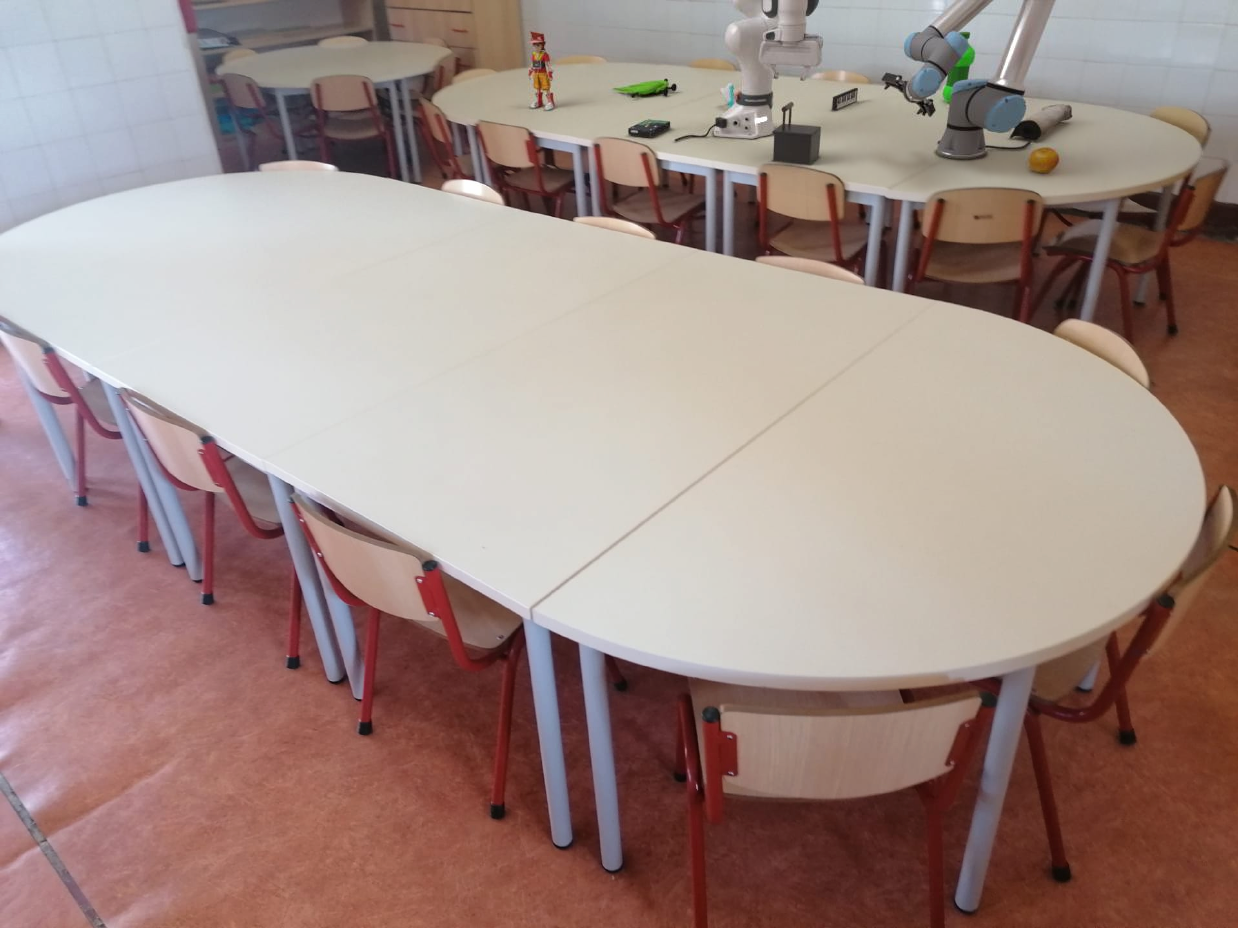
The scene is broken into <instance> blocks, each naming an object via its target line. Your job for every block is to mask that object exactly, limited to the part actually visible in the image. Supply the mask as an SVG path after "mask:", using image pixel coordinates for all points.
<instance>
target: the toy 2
mask: <svg viewBox="0 0 1238 928" xmlns="http://www.w3.org/2000/svg"><path fill="white" fill-rule="evenodd" d="M669 85H670V83H669V79H668V78H664V79H663V80H649V81H644V82H640V83H634V84H629V85H627V86H621V87H613V88H612V89H613V90H616V91H619V92H623V93H627V94H628V93H629V94H631V95H630V96H631V98H632V99H634V98H636V96H637V95H650V94H652V93H654V94H658V93H662V95H663V96H665V97H667V96H668V95H669V90H671V91H672V92H676V91H677V84H676V83H672V84H671V86H669Z"/></svg>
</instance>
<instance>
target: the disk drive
mask: <svg viewBox="0 0 1238 928" xmlns="http://www.w3.org/2000/svg"><path fill="white" fill-rule="evenodd" d="M670 128H671V121H669V120H661V119H650V118H649V119H645V120H642V121H641V122H638V123H637V124H635V125H632V126H630V127H628V128H627V135H628V136H633V137H641V138H653V137H655V136H658V135H660V134H661V133H663V132H665V131H667V130H669V129H670Z"/></svg>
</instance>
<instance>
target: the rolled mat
mask: <svg viewBox="0 0 1238 928" xmlns="http://www.w3.org/2000/svg"><path fill="white" fill-rule="evenodd" d="M1072 118H1073V109H1072V106H1071V105H1070V104H1064V103H1062V104H1061V103H1060V104H1059V103H1057V104H1053V105H1047V106H1044V107H1043V108H1042V109H1041V110H1040V111H1038V112H1036V113H1034V114H1032V115H1030V116H1028V117H1026V118H1023V119H1022V120H1021V122H1020V123H1019V124H1018V125H1017V126H1016V127H1015V128H1013V130H1012V132H1011V134H1010V136H1009V139H1013V138H1015V137H1020V138H1022V139H1023V140H1025V141H1029V142H1036V141H1038V140H1040V138H1042V137H1043V136H1044V135H1045V134H1046V133H1047V131H1049V130H1050V129H1051V128H1053V127H1054V126H1055V125H1056V124H1057V123H1059V122H1064V121H1065V122H1067V121H1069V120H1071V119H1072Z"/></svg>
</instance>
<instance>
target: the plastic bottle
mask: <svg viewBox="0 0 1238 928" xmlns="http://www.w3.org/2000/svg"><path fill="white" fill-rule="evenodd" d="M958 33H959V34H961V35H962V36H963V37H965V38H966V40H967V41H968V42H969V39H970V38H971V37H970V36H971V32H970V31H959V32H958ZM975 57H976V51H975V49H974V47H972V45H971V44H970V43H969V48H968V49H967V51H966V52H965V54H964V55H963V56H962V59H960V60H959V62H958V63H957V64H956V65H955V67H954V68H953V69H952V70H951V71H950V73H949V74H948V75H947V77H946V84H945V85H944V87H943V90H942V97H943V99H944V100H945V101H946V102H947V103H948V104H950V98H951V92H952V88H953V85H954V84H955V83H956V82H957V81H961V80H968V79H969V73H970V67H971V65H972V64H973V63H974V61H975Z"/></svg>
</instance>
